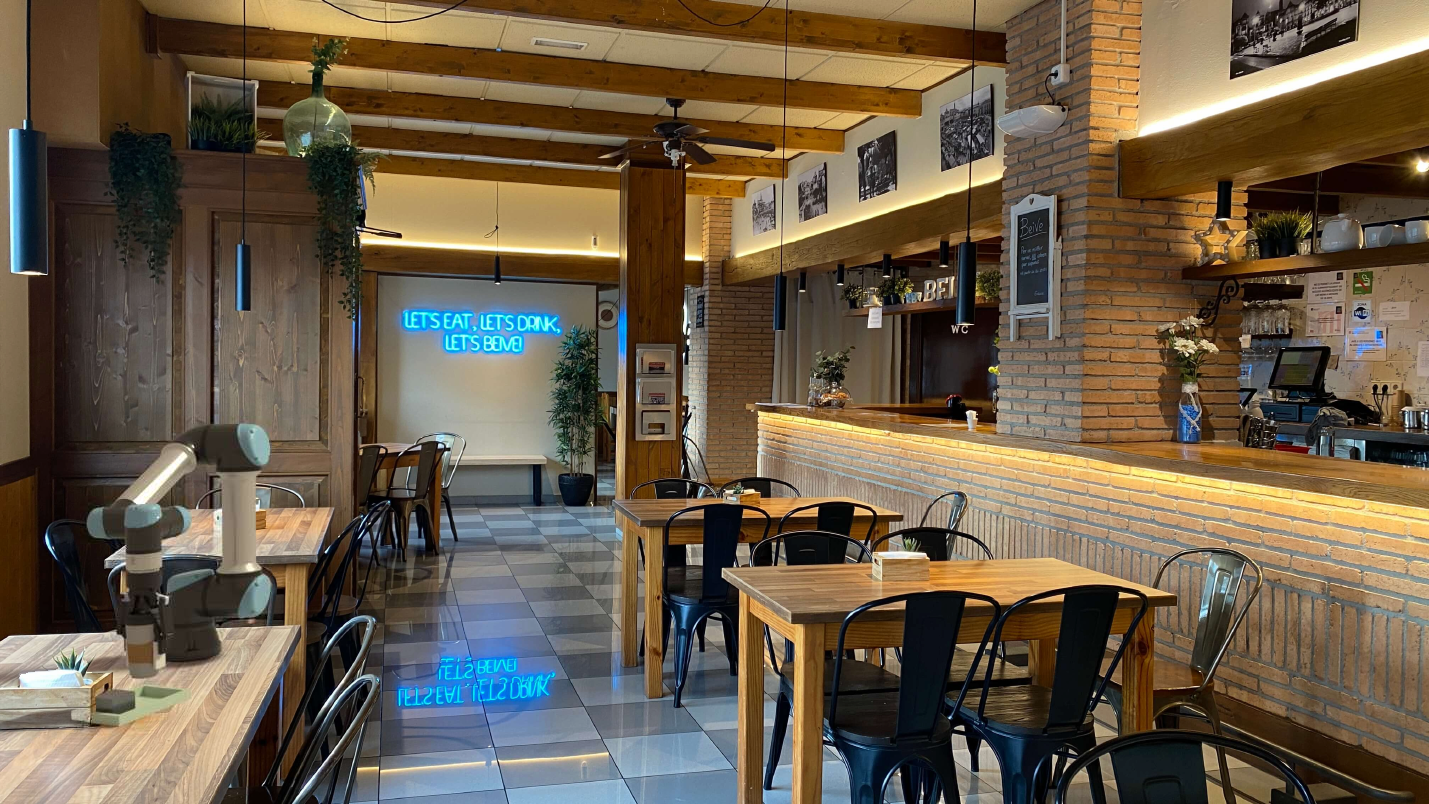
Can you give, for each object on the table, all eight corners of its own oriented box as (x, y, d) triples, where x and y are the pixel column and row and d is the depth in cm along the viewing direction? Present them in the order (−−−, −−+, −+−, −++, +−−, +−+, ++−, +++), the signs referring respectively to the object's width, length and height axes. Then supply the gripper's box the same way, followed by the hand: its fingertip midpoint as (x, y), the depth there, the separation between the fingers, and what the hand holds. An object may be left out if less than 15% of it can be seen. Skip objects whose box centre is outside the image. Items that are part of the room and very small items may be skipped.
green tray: (144, 696, 248) (144, 684, 248) (190, 701, 244) (190, 689, 244) (70, 723, 229) (70, 710, 229) (119, 729, 225) (119, 716, 225)
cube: (115, 710, 235) (114, 689, 235) (135, 712, 233) (135, 691, 233) (92, 718, 230) (91, 697, 229) (113, 721, 228) (112, 699, 228)
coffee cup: (147, 681, 235) (146, 617, 234) (116, 679, 236) (115, 615, 236) (173, 671, 243) (172, 608, 243) (143, 669, 245) (142, 607, 244)
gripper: (96, 570, 239) (98, 667, 239) (165, 575, 233) (167, 674, 233) (123, 565, 246) (125, 658, 246) (191, 569, 240) (192, 665, 240)
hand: (145, 666), depth 240 cm, fingers closed on coffee cup, 7 cm apart
